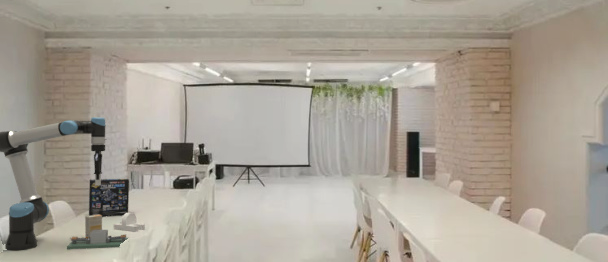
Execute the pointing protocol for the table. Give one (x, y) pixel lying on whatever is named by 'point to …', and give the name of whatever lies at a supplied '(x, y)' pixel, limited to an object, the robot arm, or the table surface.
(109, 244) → the board
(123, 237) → the strap
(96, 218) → the supplement box
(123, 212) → the box
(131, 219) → the white slotted holder
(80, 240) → the block
